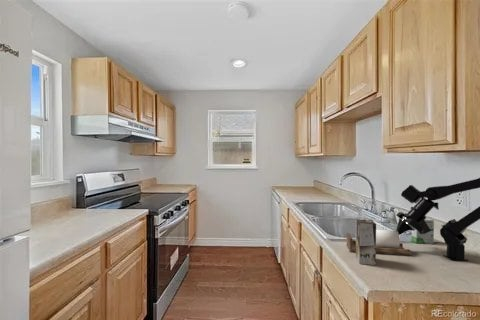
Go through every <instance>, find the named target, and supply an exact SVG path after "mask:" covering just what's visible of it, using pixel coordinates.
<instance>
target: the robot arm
mask: <svg viewBox="0 0 480 320" xmlns="http://www.w3.org/2000/svg"><path fill="white" fill-rule="evenodd" d="M475 189H480V177H478V178H476V179H472V180H471V179H470V180H466V181H463V182H459V183H455V184H450V185H437V186H431V187H430V186H429V187H427V188H426V190H423V191H421V190H419V189H417V188H416V186H414V185H413V184H410V185H409V186H407V187H406V188H405V189H404V190H403V191H402V192H401V197H402V198H404V199H405V200H406V201H408V202H409V203H410V204H414V206H411V207H410V210H409V211H408V212H407V213H404V212H402V211H400V212H399V211H398V213H396V214H395V216H397V218H398V223H397V226H396V229H395V231H398V233H399V236H400V235H401V234H404V233H405V232H407V231H412V230H413V231H414V228H415V229H416V230H417V231H418V232H420V233H423V234H425V233H428V232H430V231H431V230H430V228H429V227H428V225H427V223H426V222H425V219H426V218H427V214H429V212H431V210H433V208H434V209H436V210H437V211H439V210H440V208H439V202H437V201H439V200H441V199H444V198H446V197H447V198H448V196H451V195H453V194H457V193H462V192H465V191H471V190H475ZM436 200H437V201H436ZM434 201H435V202H434ZM478 221H480V206H479V205H478V207H477V208H475V209H474V210H472V211H470V212H469V213H468V214H466V215H465V216H463V217H461V218H460V219H459V220H456V219H450V220H448V221H447V222H446V223H445V224H443V225H441V228H440V230H439V234H440V236H441V238H443V240H444V243H445V245H446V254H442V256H443V257H445V258H447V259H449V260H451V261H455V262H456V261H459V262H461V261H462V262H463V261H469V259H468V258H466V257H465V253H466V251H465V244H466V243H467V241H468V238H467V236H465V235H464V234H463V233H464V232H466V230H467V229H468V228H469V227H471V226H472V225H473V224H475V223H476V222H478Z"/></svg>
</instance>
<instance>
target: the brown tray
mask: <svg viewBox="0 0 480 320" xmlns="http://www.w3.org/2000/svg"><path fill="white" fill-rule="evenodd" d="M346 247H347V249H348V251H349V253H356V239H355V240H353V238H352V236H351V234H350V232H346ZM376 255H388V256H402V257H403V256H404V257H406V256H407V257H410V256H411V250H410V249H407V248H404V245H403V243H401V242H400V245H399V249H392V248H376Z"/></svg>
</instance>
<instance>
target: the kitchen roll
mask: <svg viewBox="0 0 480 320" xmlns="http://www.w3.org/2000/svg"><path fill="white" fill-rule="evenodd" d="M400 243H401V240H400V235H399V233H398V231H396V230H392V229H391V230H389V229H376V248H392V249H399V245H400Z"/></svg>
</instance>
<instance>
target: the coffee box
mask: <svg viewBox="0 0 480 320" xmlns="http://www.w3.org/2000/svg"><path fill="white" fill-rule="evenodd" d="M376 230H377V223H375V222H374V221H373V220H372V219H355V241H356V252H355V259H356V260H357V262H358V264H361V265H369V266H370V265H372V266H373V265H374V266H376V263H377V261H376V258H377V256H376V255H377V254H376Z"/></svg>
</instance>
